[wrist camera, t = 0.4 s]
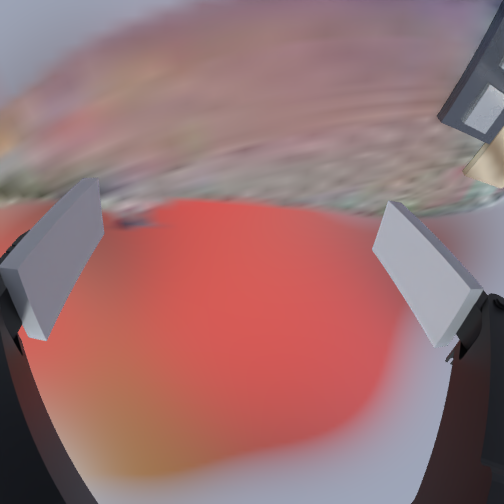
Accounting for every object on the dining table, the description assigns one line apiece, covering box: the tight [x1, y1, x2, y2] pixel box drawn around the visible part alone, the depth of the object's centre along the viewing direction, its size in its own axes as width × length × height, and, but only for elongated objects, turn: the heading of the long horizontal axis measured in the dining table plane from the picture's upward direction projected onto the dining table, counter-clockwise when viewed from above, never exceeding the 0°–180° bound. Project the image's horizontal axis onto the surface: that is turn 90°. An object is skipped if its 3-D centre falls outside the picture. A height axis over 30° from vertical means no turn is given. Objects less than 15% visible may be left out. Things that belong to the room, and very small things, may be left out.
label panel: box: [437, 0, 504, 144], centre depth 18 cm, size 16×9×1 cm, turn 170°
